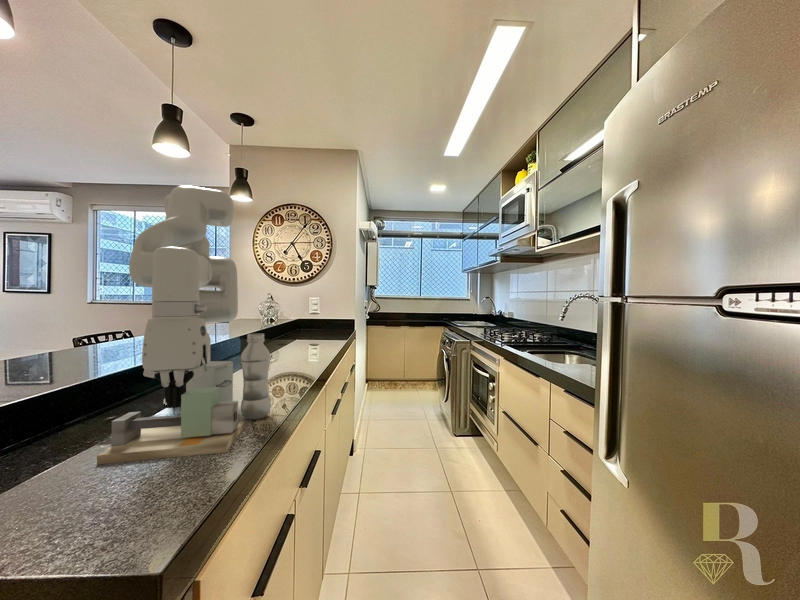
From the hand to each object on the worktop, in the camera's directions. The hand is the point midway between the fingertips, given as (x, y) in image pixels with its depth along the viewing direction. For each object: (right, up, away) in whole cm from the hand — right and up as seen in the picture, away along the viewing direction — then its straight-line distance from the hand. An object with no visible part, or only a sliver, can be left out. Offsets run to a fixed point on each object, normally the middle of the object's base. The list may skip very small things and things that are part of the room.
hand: (175, 405), depth 61 cm
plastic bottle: (+9, -8, +14) cm, 19 cm away
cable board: (+1, -7, 0) cm, 7 cm away
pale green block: (+4, -5, +1) cm, 7 cm away
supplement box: (-4, -8, +17) cm, 20 cm away
